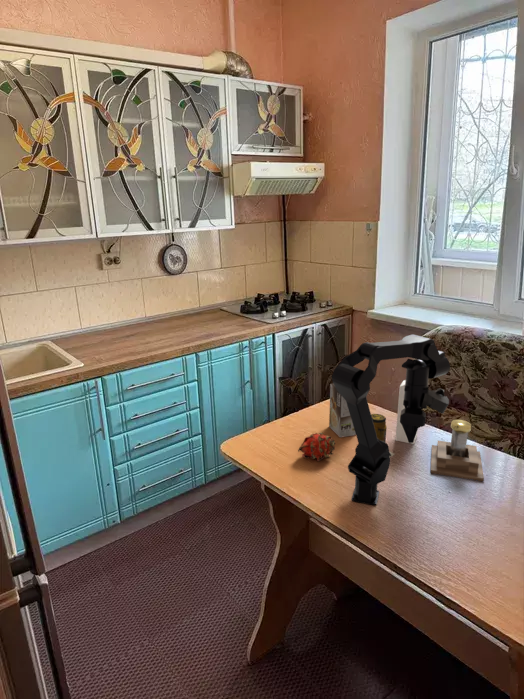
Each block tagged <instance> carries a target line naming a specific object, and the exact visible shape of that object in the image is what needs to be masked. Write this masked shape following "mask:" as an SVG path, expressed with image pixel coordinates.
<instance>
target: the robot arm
mask: <svg viewBox="0 0 524 699" xmlns="http://www.w3.org/2000/svg"><path fill="white" fill-rule="evenodd" d="M406 358H407V359H406ZM394 359H406V360H405V361H404V362H403V363H401V368H404V369H405V372H406V373H405V380H406V381H405V389H404V391H405V393H404V401H403V405H404V406H405V408H404V409H403V410H402V411H401V415H400V423H401V424H402V426H403V429H404V431H405V434H406V436H407V439H408V442H409V443H408V444H411V443H413V441H414V438H415V436H416V433H417V434H418V432H417V430H418V429H420V428H423V427H425V425H426V420H427V419H426V417H427V413H426V412H425V411H424V410H425V409H427V408H428V407H429V408H430V409H432V410H434V411H437V412H438V413H440V414H444V413H445V411H446V410H447V408H448V406H449V405H450V399H449V398H448V396H447V395H445V389H442V388H440V387H439V388H437V389H436V390H430V389H429V388H430V386H429V380H431V379H435V378H438V377H441V376H443V375H446V374H447V375H448V373H449V372H450V369H451V364H450V361H449V359H448V357H446V352H445V351H442V350H438V347H437V346H436V343H435V339H433V338H428V337H425V336H421V335H417V334H413V333H412V334H410V335H406V336H404V337H402V339H400V340H391V341H380V342H376V341H375V342H363V343H362V344H360V346H359V347H358V348H357V349H356V350H355V351H353V352H351V353H350V354H347V355H346V356H345V357H344V358H342V360H341V361H340V362H339V363H338V365H337V366H336V367H335V368H334V371H333V372H332V374H331V381H332V383H333V384H334V385H335V387H336V389H337V391H338V392H339V393H340V394H341V396H342V397H343V398H344V399H345V400H346V402H347V406H348V409H349V413H350V416H351V419H352V423H353V426H354V430H355V433H356V435H355V436H356V440H357V443H358V444H357V445H356V448H355V449H354V450H355V452H354V453H355V455H354V456H353V457H352V459H351V460H350V461H349V463H348V464H347V470H348V473H351V474H353V475H355V478H354V479H355V481H354V482H355V484H354V488H353V493H352V495H351V501H352V502H355V503H361V504H366V505H372V506H377V505H378V501H379V496H380V490H378V485H379V484H380V483H382V482H385V481H386V478H387V474H388V472H389V469H390V465H391V457H392V456H391V454H390V452H391V451H390V449H389V448H390V447H389V445H388V443H387V442H386V443H385V442H383V441H381V440H379V439H377V435H376V431H375V428H374V424H373V420H372V417H371V414H372V413H371V411H370V407H369V403H368V402H369V401H368V399H367V397H368V395H369V392H370V390H371V385H370V384H371V382H373V380H374V379H375V377H376V376H377V370H378V365H379V363H380V362H381V361H386V360H394ZM364 360H368V365H367V367H366V368H365V369H364V370H363V369H362V368H358V367H355V366H356V365H359V364H360V363H362V362H363V361H364ZM423 409H424V410H423ZM389 451H390V452H389ZM389 456H391V457H389Z"/></svg>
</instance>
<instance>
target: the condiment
mask: <svg viewBox="0 0 524 699" xmlns="http://www.w3.org/2000/svg"><path fill="white" fill-rule="evenodd" d="M371 417H372V420H373V424H374V428H375V431H376V435H377V439H379V440H381V441H383V442H385V443H387V441H386V440H387V425H386V423H387V418H386V416H385V415H383V414H380V413H371ZM389 452H390V454H391V456H389V457H390V458H391V457H393V456H395V455H396V453H393V452H392V451H390V450H389Z"/></svg>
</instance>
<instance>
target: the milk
mask: <svg viewBox="0 0 524 699" xmlns="http://www.w3.org/2000/svg"><path fill="white" fill-rule="evenodd" d="M405 381H406V379H404V380H402V382H401V383H400V385H399V390H398V392H399V393H398V402H397V404H398V405H397V416H396V427H395V441H397V442H402V443H406V444H411V445H414V444H415V442H416V440H417V438H418V430H417V433H416V436H415V438H414V441H413V443H409V442H408V439H407V436H406V434H405V431H404V429H403V426H402V424H401V423H400V415H401V411H402V410H403V409H404V408H405V406H404V405H403V401H404V393H405V391H404V389H405Z"/></svg>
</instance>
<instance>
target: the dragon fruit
mask: <svg viewBox="0 0 524 699" xmlns="http://www.w3.org/2000/svg"><path fill="white" fill-rule="evenodd" d="M335 444H336V442H335V440H334V438H332V436H330V435H327V434H324V433H323V432H319V434H318V433H316V432H315V433H311V435H310V436H306V437H305V438H304V440H303V442H302V443H301V445H300V446H299V448H298V449H297V452H298V453H299V452H301V453H302V454H301V457H303V458H305V459H311V460H314V459H316V461H317V462H320V461H321V460H323V459H326V458H329V457H330V455H332V456H333V455H334V452H333V451H335V450H336V449H335Z"/></svg>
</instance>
